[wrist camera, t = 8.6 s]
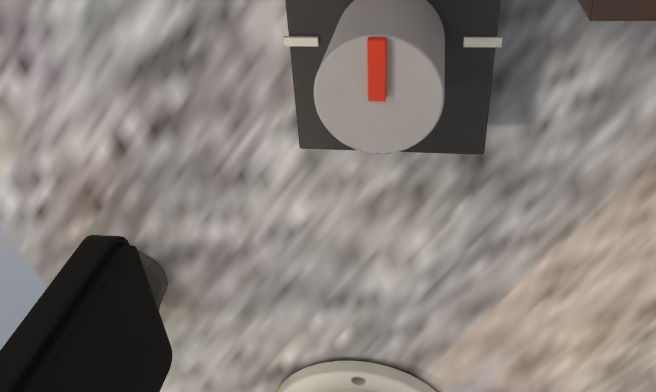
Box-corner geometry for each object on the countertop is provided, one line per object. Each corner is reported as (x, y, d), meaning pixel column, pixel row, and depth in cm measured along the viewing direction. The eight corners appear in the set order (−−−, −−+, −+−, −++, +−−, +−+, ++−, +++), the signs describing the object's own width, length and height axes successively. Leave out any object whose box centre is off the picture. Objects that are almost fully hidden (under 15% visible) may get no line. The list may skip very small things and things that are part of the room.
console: (485, 127, 27) (489, 157, 25) (305, 122, 29) (294, 150, 27) (511, -118, 22) (518, -105, 20) (285, -109, 23) (269, -97, 21)
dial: (441, 92, 24) (440, 162, 20) (338, 89, 25) (315, 157, 20) (448, -14, 22) (448, 39, 17) (333, -14, 22) (306, 37, 18)
